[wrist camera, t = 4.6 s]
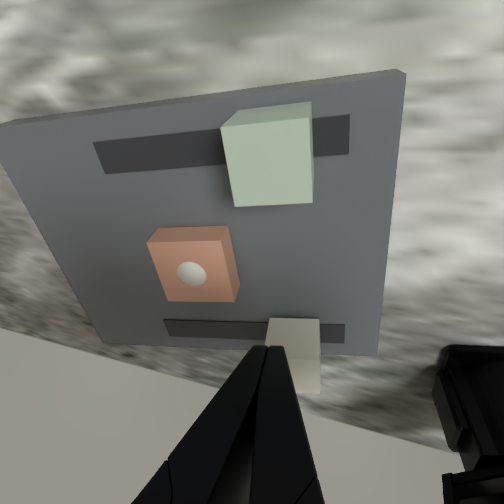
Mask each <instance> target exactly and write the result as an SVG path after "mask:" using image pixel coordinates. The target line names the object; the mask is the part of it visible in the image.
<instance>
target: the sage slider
mask: <svg viewBox="0 0 504 504" xmlns="http://www.w3.org/2000/svg"><path fill="white" fill-rule="evenodd" d="M220 129H221V134H222V140H223V145H224V151H225V156H226V162H227V167H228V172H229V178H230V183H231V189H232V194H233V200H234V205H235V207H242V206H261V205H281V204H300V203H313V184H314V160H313V132H312V105H311V101H310V102H301V103H293V104H285V105H276V106H268V107H260V108H251V109H243V110H238V111H237V112H236V113H235V114H234V115H233V116H232V117H231V118H230V119H228V120H227V121H226V122H225V123H224V124H223V125H222V126H221V127H220Z"/></svg>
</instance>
